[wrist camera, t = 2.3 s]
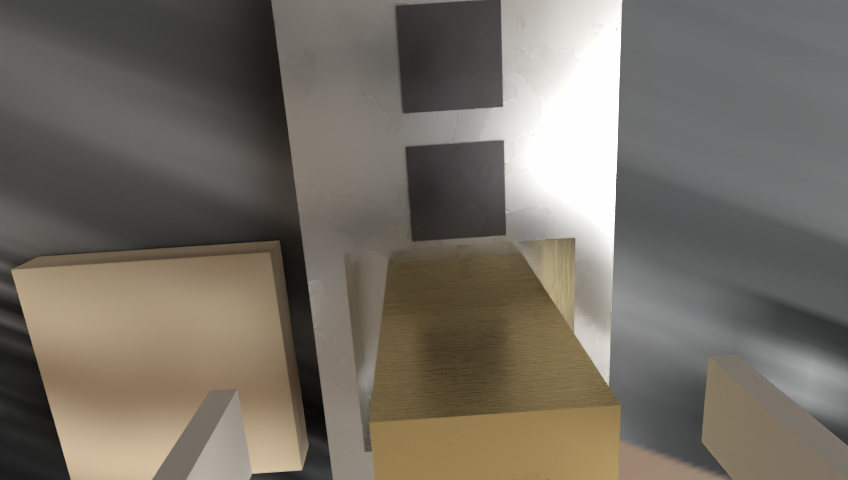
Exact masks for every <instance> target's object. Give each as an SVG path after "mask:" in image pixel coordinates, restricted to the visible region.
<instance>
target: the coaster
mask: <svg viewBox="0 0 848 480" xmlns="http://www.w3.org/2000/svg"><path fill="white" fill-rule="evenodd" d="M11 272H12V275H13V279H14V282H15V286H16V289H17V293H18V296H19V300H20V303H21V307H22V310H23V314H24V317H25V321H26V324H27V328H28V331H29V335H30V338H31V342H32V345H33V349H34V352H35V356H36V359H37V363H38V366H39V370H40V373H41V377H42V380H43V384H44V387H45V391H46V394H47V398H48V401H49V405H50V408H51V412H52V415H53V419H54V422H55V426H56V429H57V433H58V436H59V440H60V443H61V447H62V450H63V454H64V457H65V460H66V464H67V467H68V471H69V474H70V478H71V480H152V479H153V477H154V476H155V474H156V473H157V471H158V470H159V468H160V466H161V465H162V463H163V462H164V460H165V459H166V457H167V456H168V454H169V453H170V451H171V450H172V448H173V447H174V445H175V443H176V442H177V440H178V439H179V437H180V436H181V434H182V433H183V431H184V430H185V428H186V427H187V425H188V423H189V422H190V420H191V419H192V417H193V416H194V414H195V413H196V411H197V410H198V408H199V407H200V405H201V404H202V402H203V400H204V399H205V397H206V396H207V394H208V393H209V391H214V390H229V389H238V395H239V400H240V406H241V412H242V418H243V424H244V429H245V435H246V441H247V447H248V452H249V458H250V464H251V470H252V474H254V473H268V472H282V471H296V470H302V468H303V464H304V461H305V457H306V454H307V450H308V446H309V445H308V438H307V431H306V424H305V417H304V410H303V402H302V395H301V388H300V381H299V374H298V367H297V360H296V353H295V346H294V339H293V331H292V324H291V317H290V310H289V303H288V296H287V289H286V282H285V275H284V267H283V260H282V253H281V246H280V240H279V241H264V242H249V243H234V244H219V245H204V246H189V247H174V248H159V249H145V250H130V251H115V252H100V253H85V254H70V255H55V256H40V257H37V258H35V259H33V260H31V261H28V262H26V263H24V264H22V265H20V266H18V267H16V268H14V269H12V270H11Z"/></svg>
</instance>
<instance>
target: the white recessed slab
mask: <svg viewBox="0 0 848 480" xmlns="http://www.w3.org/2000/svg"><path fill="white" fill-rule="evenodd" d="M271 2H272V10H273V17H274V25H275V33H276V41H277V48H278V56H279V64H280V72H281V79H282V87H283V95H284V103H285V110H286V118H287V126H288V134H289V141H290V149H291V157H292V165H293V172H294V180H295V188H296V196H297V203H298V211H299V219H300V227H301V234H302V242H303V250H304V258H305V266H306V273H307V281H308V289H309V297H310V304H311V312H312V320H313V328H314V335H315V343H316V351H317V359H318V366H319V374H320V382H321V390H322V397H323V405H324V413H325V421H326V428H327V436H328V444H329V452H330V459H331V467H332V475H333V480H375V476H374V466H373V456H372V447H371V437H370V427H369V418H370V410H371V402H372V393H373V385H374V376H375V368H376V359H377V351H378V342H379V334H380V326H381V317H382V309H383V300H384V292H385V283H386V275H387V266H388V263H392V262H406V261H421V260H436V259H451V258H466V257H481V256H495V255H510V254H523V256H524V257H525V259H526V260H527V262H528V264H529V265H530V267H531V268H532V270H533V271H534V273H535V274H536V276H537V277H538V279H539V280H540V282H541V283H542V285H543V287H544V288H545V290H546V291H547V293H548V294H549V296H550V297H551V299H552V300H553V302H554V303H555V305H556V306H557V308H558V310H559V311H560V313H561V314H562V316H563V317H564V319H565V320H566V322H567V323H568V325H569V326H570V328H571V329H572V331H573V333H574V334H575V336H576V337H577V339H578V340H579V342H580V343H581V345H582V346H583V348H584V349H585V351H586V352H587V354H588V355H589V357H590V359H591V360H592V362H593V363H594V365H595V366H596V368H597V369H598V371H599V372H600V374H601V375H602V377H603V378H604V380H605V382H606V383H607V385H608V386H609V365H610V336H611V307H612V278H613V248H614V219H615V190H616V161H617V132H618V102H619V73H620V44H621V15H622V0H271Z"/></svg>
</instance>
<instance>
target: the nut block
mask: <svg viewBox="0 0 848 480" xmlns="http://www.w3.org/2000/svg"><path fill="white" fill-rule="evenodd" d="M620 415H621V405H620V403H619V401H618V400H617V398H616V397H615V395H614V394H613V392H612V391H611V389H610V388H609V386H608V385H607V383H606V382H605V380H604V378H603V377H602V375H601V374H600V372H599V371H598V369H597V368H596V366H595V365H594V363H593V362H592V360H591V359H590V357H589V355H588V354H587V352H586V351H585V349H584V348H583V346H582V345H581V343H580V342H579V340H578V339H577V337H576V336H575V334H574V333H573V331H572V329H571V328H570V326H569V325H568V323H567V322H566V320H565V319H564V317H563V316H562V314H561V313H560V311H559V310H558V308H557V306H556V305H555V303H554V302H553V300H552V299H551V297H550V296H549V294H548V293H547V291H546V290H545V288H544V287H543V285H542V283H541V282H540V280H539V279H538V277H537V276H536V274H535V273H534V271H533V270H532V268H531V267H530V265H529V264H528V262H527V260H526V259H525V257H524V256H523V254H510V255H495V256H481V257H466V258H451V259H436V260H421V261H406V262H392V263H388V266H387V275H386V283H385V292H384V300H383V309H382V317H381V326H380V334H379V342H378V351H377V359H376V368H375V376H374V385H373V393H372V402H371V410H370V418H369V427H370V437H371V447H372V456H373V466H374V476H375V480H618V463H619V439H620Z"/></svg>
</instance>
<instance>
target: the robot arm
mask: <svg viewBox="0 0 848 480" xmlns="http://www.w3.org/2000/svg"><path fill="white" fill-rule="evenodd" d="M702 443H703V444H704V445H705V446H706V447H707V449H708V450H709V451H710V452H711V454H712V455H713V456H714V457H715V458H716V460H717V461H718V462H719V463H720V464H721V466H722V467H723V468H724V469H725V471H726V472H727V473H728V474H729V475H730V477H731V478H732V479H733V480H848V446H847V445H846V444H845V443H844V442H842V441H841V440H840V439H839V438H837V437H836V436H835V435H834V434H833V433H831V432H830V431H829V430H828V429H827V428H825V427H824V426H823V425H822V424H820V423H819V422H818V421H817V420H816V419H814V418H813V417H812V416H811V415H809V414H808V413H807V412H806V411H805V410H803V409H802V408H801V407H800V406H799V405H797V404H796V403H795V402H794V401H792V400H791V399H790V398H789V397H788V396H786V395H785V394H784V393H783V392H781V391H780V390H779V389H778V388H777V387H775V386H774V385H773V384H772V383H771V382H769V381H768V380H767V379H766V378H764V377H763V376H762V375H761V374H760V373H758V372H757V371H756V370H755V369H753V368H752V367H751V366H750V365H749V364H747V363H746V362H745V361H744V360H743V359H741V358H740V357H739V356H738V355H736V354H731V355H717V356H709V359H708V371H707V383H706V394H705V406H704V418H703V430H702ZM251 475H252V470H251V464H250V458H249V452H248V447H247V441H246V435H245V429H244V424H243V418H242V412H241V406H240V400H239V395H238V389H229V390H214V391H209V393H208V394H207V396H206V397H205V399H204V400H203V402H202V404H201V405H200V407H199V408H198V410H197V411H196V413H195V414H194V416H193V417H192V419H191V420H190V422H189V423H188V425H187V427H186V428H185V430H184V431H183V433H182V434H181V436H180V437H179V439H178V440H177V442H176V443H175V445H174V447H173V448H172V450H171V451H170V453H169V454H168V456H167V457H166V459H165V460H164V462H163V463H162V465H161V466H160V468H159V470H158V471H157V473H156V474H155V476H154V477H153V479H152V480H250V477H251Z"/></svg>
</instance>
